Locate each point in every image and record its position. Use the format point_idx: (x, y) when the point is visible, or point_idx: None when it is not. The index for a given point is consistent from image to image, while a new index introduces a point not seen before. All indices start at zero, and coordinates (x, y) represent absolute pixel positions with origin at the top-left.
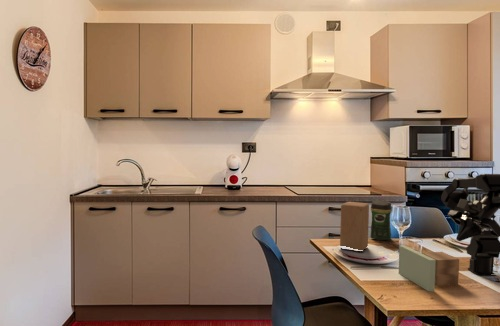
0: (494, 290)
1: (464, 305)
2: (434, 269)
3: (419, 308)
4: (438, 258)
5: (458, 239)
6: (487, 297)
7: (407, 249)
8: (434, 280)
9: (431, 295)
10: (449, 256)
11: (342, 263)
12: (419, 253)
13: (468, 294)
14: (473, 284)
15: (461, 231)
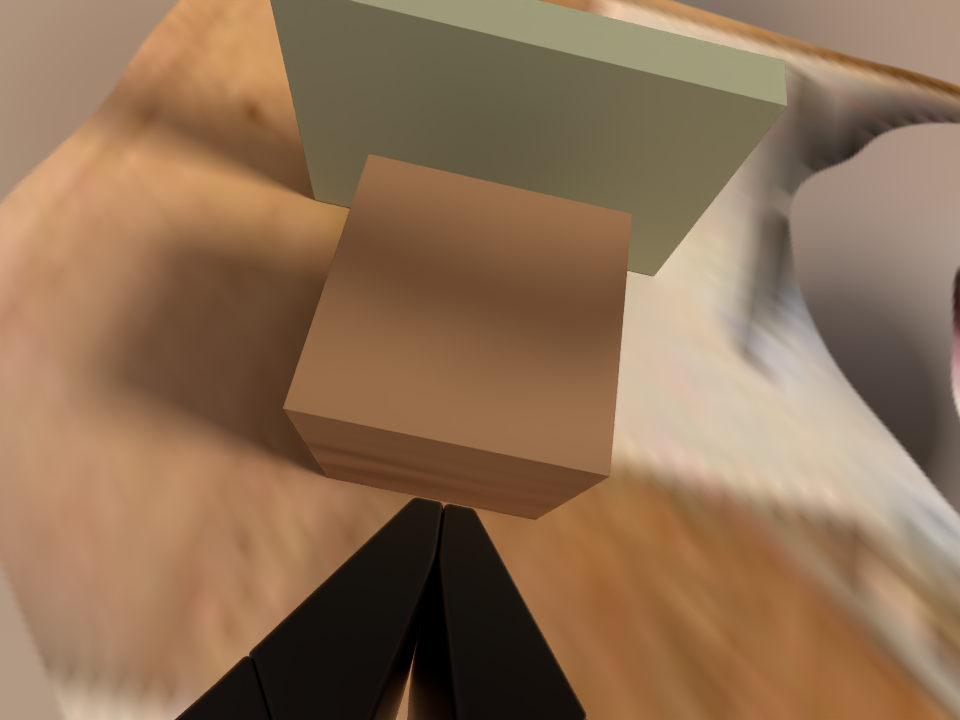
0: (57, 677)
1: (70, 182)
2: (288, 65)
3: None
4: (410, 206)
5: (408, 510)
6: (27, 447)
7: (645, 28)
8: (303, 143)
9: (278, 138)
10: (415, 384)
11: (870, 76)
12: (491, 14)
13: (152, 360)
14: (254, 611)
15: (447, 684)
